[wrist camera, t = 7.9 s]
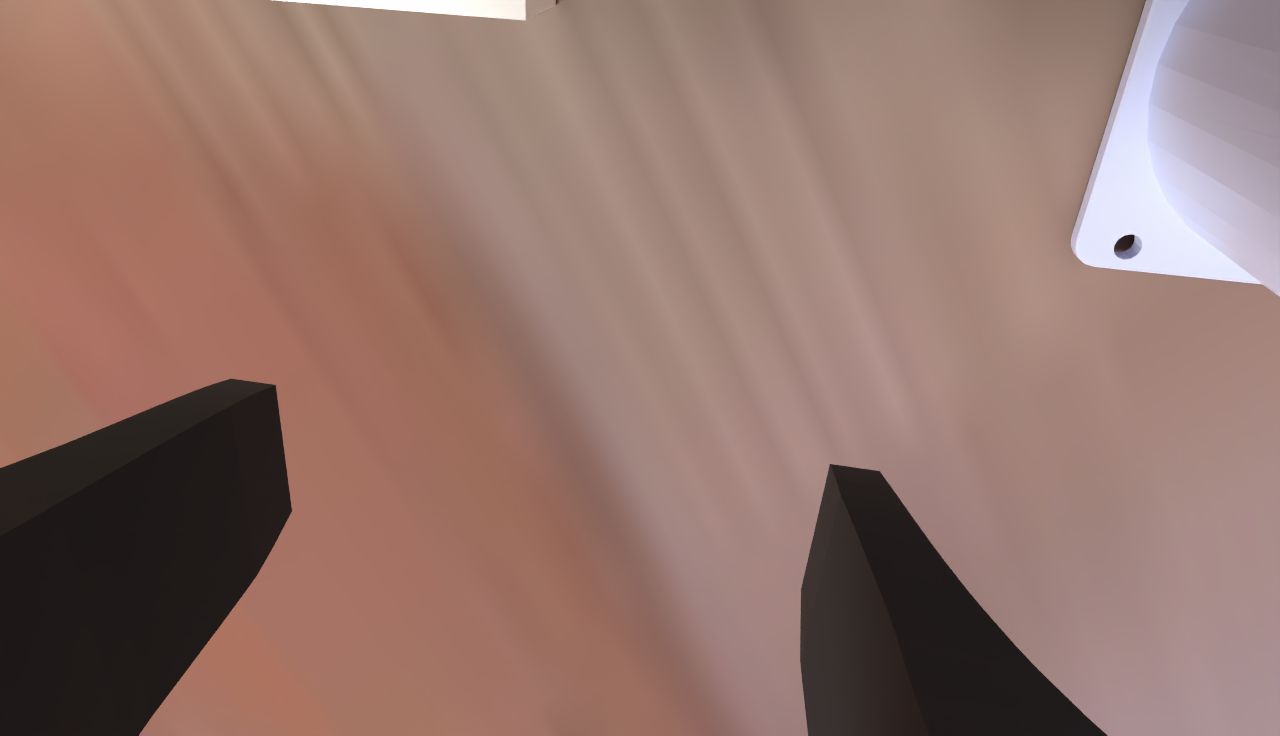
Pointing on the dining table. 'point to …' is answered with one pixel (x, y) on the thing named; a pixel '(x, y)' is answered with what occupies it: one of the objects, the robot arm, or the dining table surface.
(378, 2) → the base block
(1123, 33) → the dining table surface
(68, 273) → the dining table surface
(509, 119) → the dining table surface
